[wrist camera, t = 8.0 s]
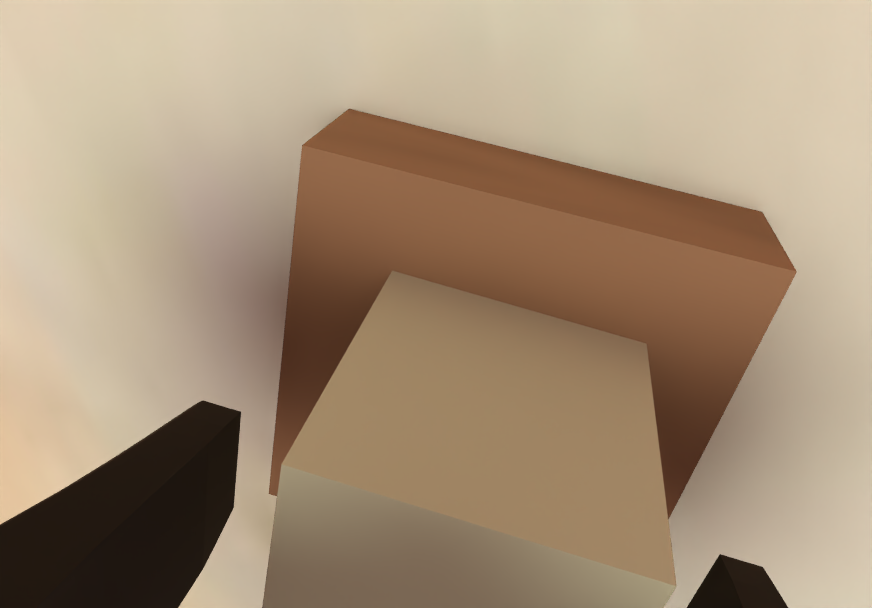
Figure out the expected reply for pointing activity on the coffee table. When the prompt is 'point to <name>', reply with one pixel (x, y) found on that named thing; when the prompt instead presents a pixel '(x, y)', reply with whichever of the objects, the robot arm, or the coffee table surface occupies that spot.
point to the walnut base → (526, 264)
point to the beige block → (474, 466)
